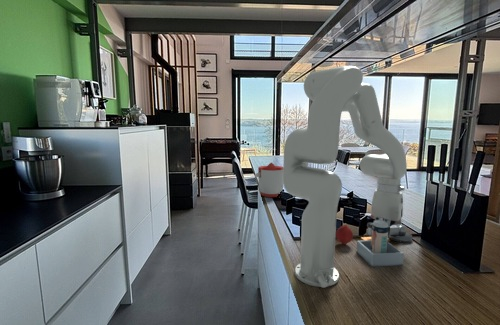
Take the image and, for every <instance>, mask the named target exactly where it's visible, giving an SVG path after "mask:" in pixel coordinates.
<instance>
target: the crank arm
mask: <svg viewBox="0 0 500 325" xmlns="http://www.w3.org/2000/svg"><path fill="white" fill-rule="evenodd" d="M372 223H373V222H367V224H366V227H367V234H368V235H369V236H370V237H372ZM406 232H407V226H406V225H405V224H402V223H401V224H394V225H392V226H390V234H389V235H406ZM389 235H388V236H389Z"/></svg>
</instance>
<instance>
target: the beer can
mask: <svg viewBox="0 0 500 325" xmlns="http://www.w3.org/2000/svg"><path fill="white" fill-rule="evenodd" d="M371 223H372V236H370V237H371V252H372V253H373V254H378V253H386V252H387V239H389V235H388V227H389V226H388V223H387V220H385V221H383V220H375V219H374V220H373V222H371Z"/></svg>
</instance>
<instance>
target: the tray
mask: <svg viewBox="0 0 500 325" xmlns="http://www.w3.org/2000/svg"><path fill="white" fill-rule="evenodd" d="M355 251H356V253H357V254H358V255H359V256H360V257H361V258H363V260H364V261H366V262H367V263H368V265H370V266H371V267H372V268H373V267H391V266H403V264H404V257H405V256H404V254H405V253H404V252H403V251H401V250H400V249H399V248H398V247H396V246H394V245H393V244H392V243H391V242H390V241H387V252H386V253H378V254H373V253H372V252H371V240H357V241H356V250H355Z"/></svg>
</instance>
